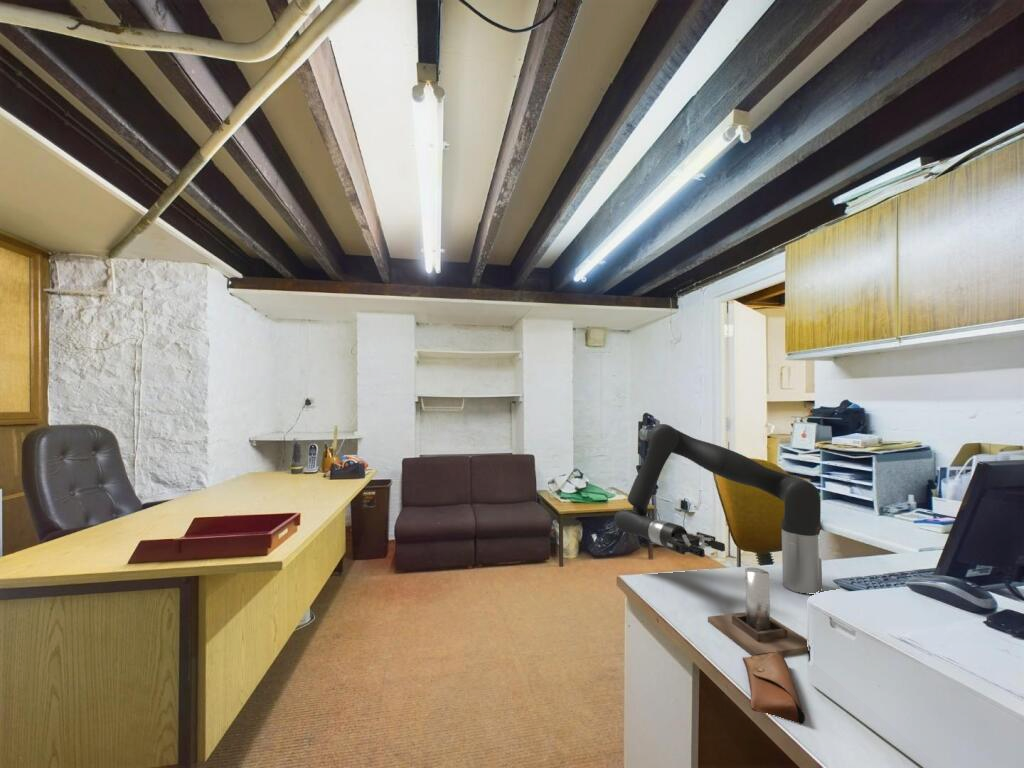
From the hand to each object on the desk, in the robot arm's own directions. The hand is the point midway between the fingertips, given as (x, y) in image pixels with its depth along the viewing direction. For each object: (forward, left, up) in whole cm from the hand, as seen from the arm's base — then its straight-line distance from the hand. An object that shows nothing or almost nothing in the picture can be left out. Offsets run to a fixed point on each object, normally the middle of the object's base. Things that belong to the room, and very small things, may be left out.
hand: (714, 550), depth 112 cm
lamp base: (-2, +13, -16) cm, 21 cm away
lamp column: (-2, +13, -15) cm, 20 cm away
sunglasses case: (+11, +29, -17) cm, 35 cm away
